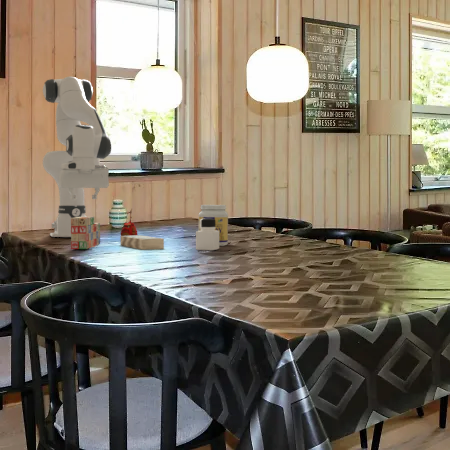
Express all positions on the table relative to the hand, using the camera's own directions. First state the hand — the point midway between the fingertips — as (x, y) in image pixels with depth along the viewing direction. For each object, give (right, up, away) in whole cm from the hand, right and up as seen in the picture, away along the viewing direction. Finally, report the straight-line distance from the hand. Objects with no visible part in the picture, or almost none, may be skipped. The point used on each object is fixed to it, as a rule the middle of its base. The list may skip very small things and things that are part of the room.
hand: (84, 199), depth 265 cm
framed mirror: (+24, -19, -2) cm, 31 cm away
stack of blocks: (+1, -20, 0) cm, 20 cm away
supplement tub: (+52, -19, +4) cm, 56 cm away
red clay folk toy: (+16, -19, +20) cm, 31 cm away
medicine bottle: (+51, -20, -13) cm, 56 cm away
